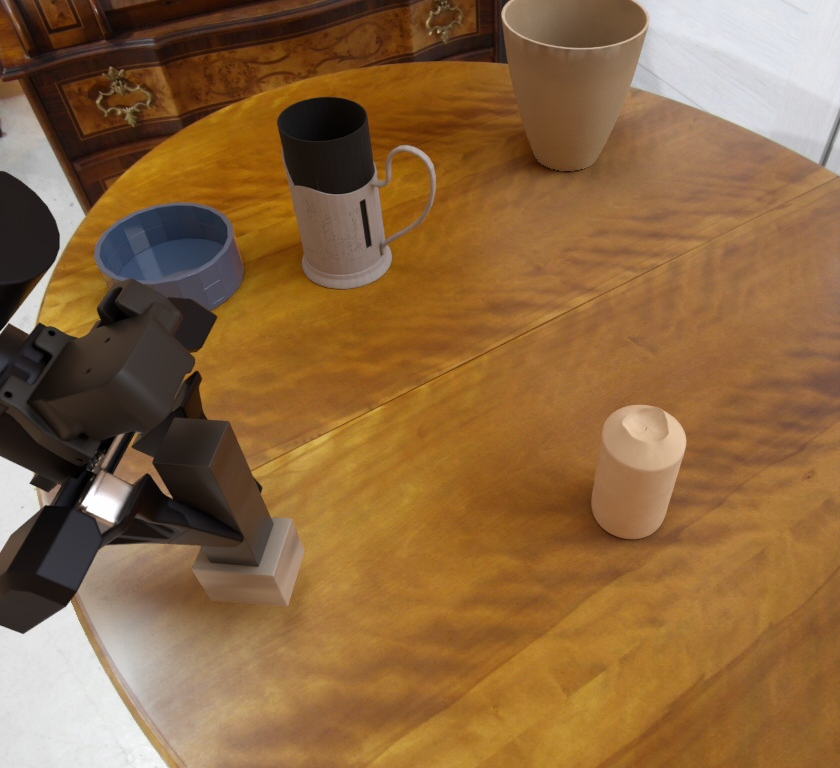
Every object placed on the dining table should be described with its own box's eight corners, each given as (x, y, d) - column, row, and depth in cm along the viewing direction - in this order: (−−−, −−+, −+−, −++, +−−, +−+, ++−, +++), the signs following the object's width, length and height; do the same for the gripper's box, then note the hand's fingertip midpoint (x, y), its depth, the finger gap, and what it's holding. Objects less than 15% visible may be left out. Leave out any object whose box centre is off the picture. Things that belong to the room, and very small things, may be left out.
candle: (623, 465, 60) (641, 377, 52) (680, 508, 57) (707, 423, 50) (575, 507, 57) (587, 420, 50) (632, 554, 55) (654, 471, 47)
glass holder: (326, 225, 80) (299, 86, 69) (456, 252, 77) (450, 112, 66) (285, 278, 74) (249, 135, 63) (424, 309, 71) (412, 166, 60)
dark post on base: (210, 601, 49) (127, 469, 39) (231, 545, 52) (159, 408, 41) (288, 607, 49) (225, 476, 38) (305, 551, 51) (250, 414, 41)
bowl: (91, 319, 70) (71, 281, 66) (139, 238, 78) (123, 200, 74) (224, 324, 70) (211, 286, 66) (258, 242, 78) (247, 204, 74)
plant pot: (514, 115, 95) (517, -22, 84) (634, 130, 94) (655, -8, 82) (487, 182, 85) (486, 37, 74) (621, 200, 84) (642, 54, 72)
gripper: (-105, 469, 26) (279, 639, 34) (128, 168, 39) (370, 342, 47) (-178, 564, 33) (160, 689, 40) (43, 278, 45) (269, 415, 53)
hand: (249, 517), depth 45 cm, fingers closed on dark post on base, 3 cm apart
